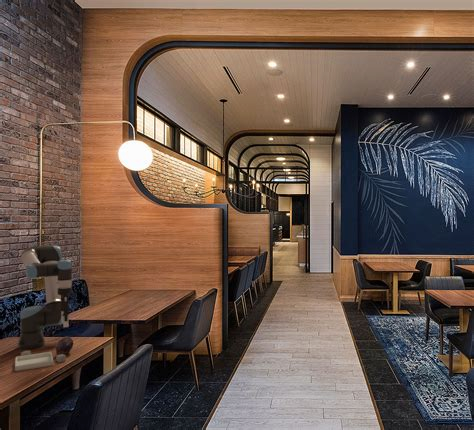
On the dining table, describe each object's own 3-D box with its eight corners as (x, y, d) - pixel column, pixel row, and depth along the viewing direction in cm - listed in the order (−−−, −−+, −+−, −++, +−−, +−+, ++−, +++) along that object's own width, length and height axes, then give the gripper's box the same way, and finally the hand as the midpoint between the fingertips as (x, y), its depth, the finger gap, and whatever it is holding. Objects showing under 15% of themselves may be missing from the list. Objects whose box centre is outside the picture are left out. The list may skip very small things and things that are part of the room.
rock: (53, 358, 231) (72, 357, 233) (52, 344, 230) (71, 342, 232) (58, 349, 242) (76, 347, 244) (57, 335, 241) (75, 334, 243)
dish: (15, 361, 224) (15, 356, 224) (51, 356, 232) (51, 351, 232) (15, 371, 208) (14, 366, 208) (53, 365, 216) (53, 360, 216)
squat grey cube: (56, 361, 224) (56, 355, 224) (62, 359, 226) (62, 354, 226) (59, 362, 221) (59, 357, 221) (65, 361, 223) (65, 355, 223)
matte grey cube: (24, 356, 234) (24, 350, 234) (30, 356, 233) (30, 350, 233) (20, 358, 230) (20, 352, 230) (26, 358, 229) (26, 352, 229)
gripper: (56, 285, 247) (56, 321, 247) (58, 290, 225) (59, 330, 224) (69, 284, 251) (69, 319, 250) (73, 289, 228) (74, 328, 228)
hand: (64, 324), depth 237 cm, fingers open, 13 cm apart
